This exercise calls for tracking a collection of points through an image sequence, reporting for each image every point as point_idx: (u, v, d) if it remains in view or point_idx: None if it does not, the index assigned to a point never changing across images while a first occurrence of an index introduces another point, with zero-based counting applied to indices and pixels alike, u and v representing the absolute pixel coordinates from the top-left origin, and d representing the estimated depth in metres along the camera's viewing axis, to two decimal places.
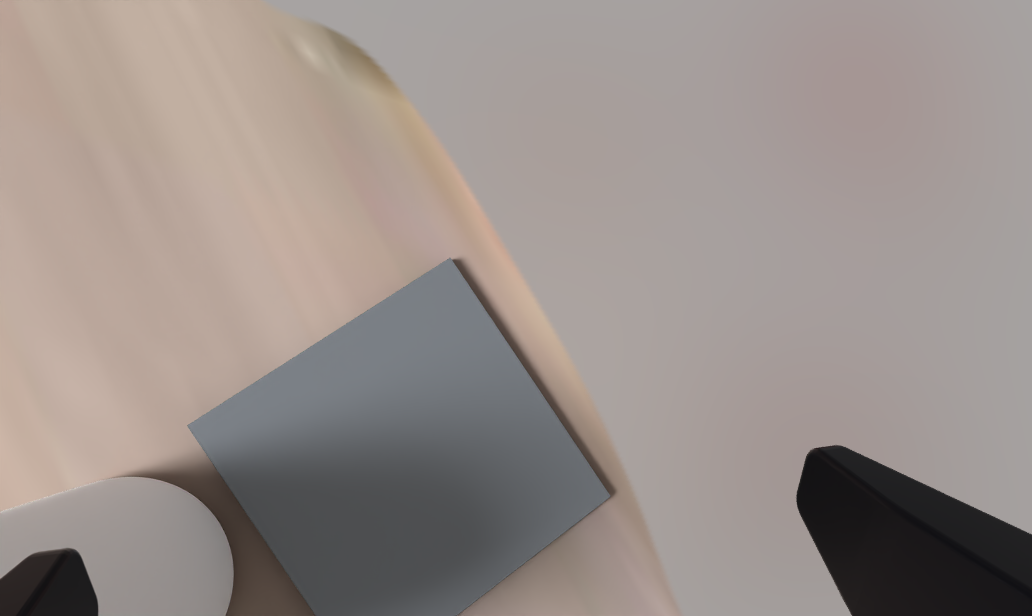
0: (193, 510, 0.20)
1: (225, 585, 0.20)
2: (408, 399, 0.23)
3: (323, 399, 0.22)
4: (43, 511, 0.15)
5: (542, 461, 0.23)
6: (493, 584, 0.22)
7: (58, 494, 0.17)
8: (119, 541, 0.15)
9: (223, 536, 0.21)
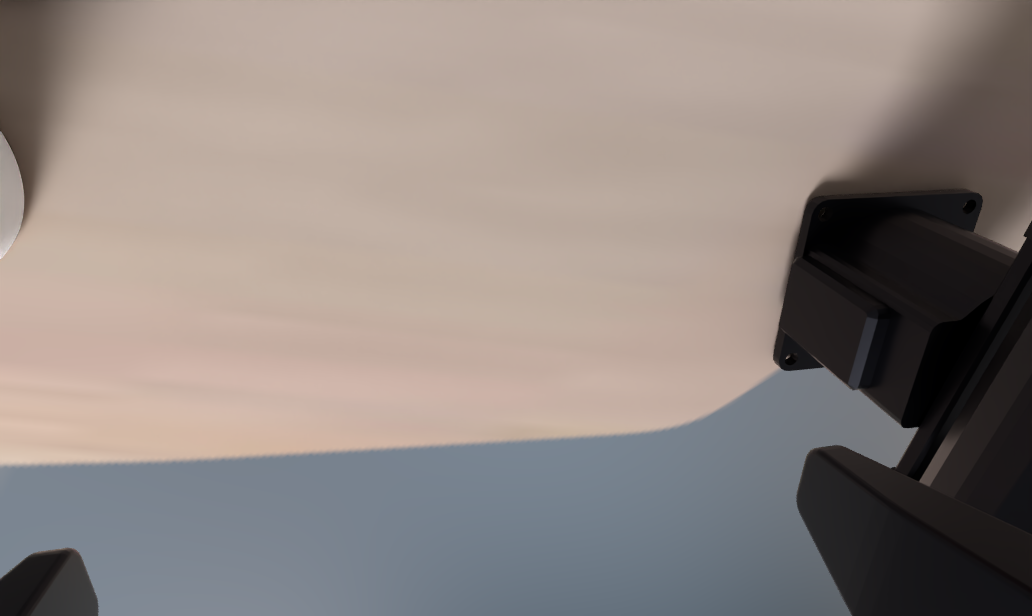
0: None
1: None
2: None
3: None
4: None
5: None
6: None
7: None
8: None
9: None
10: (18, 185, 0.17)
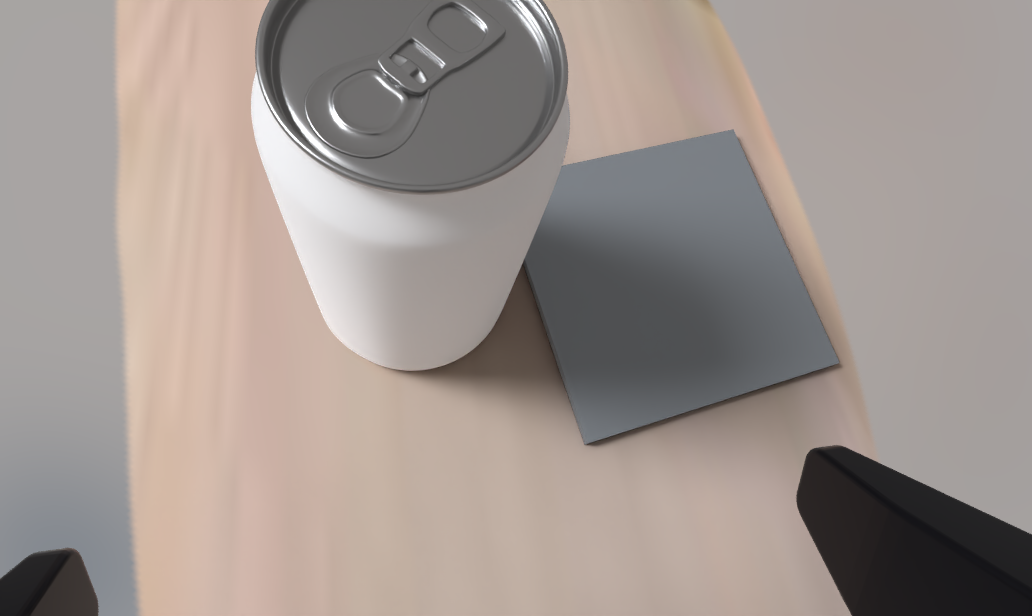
0: None
1: None
2: (677, 221, 0.25)
3: (608, 197, 0.25)
4: None
5: (782, 311, 0.25)
6: (720, 399, 0.23)
7: None
8: None
9: None
10: (427, 367, 0.22)
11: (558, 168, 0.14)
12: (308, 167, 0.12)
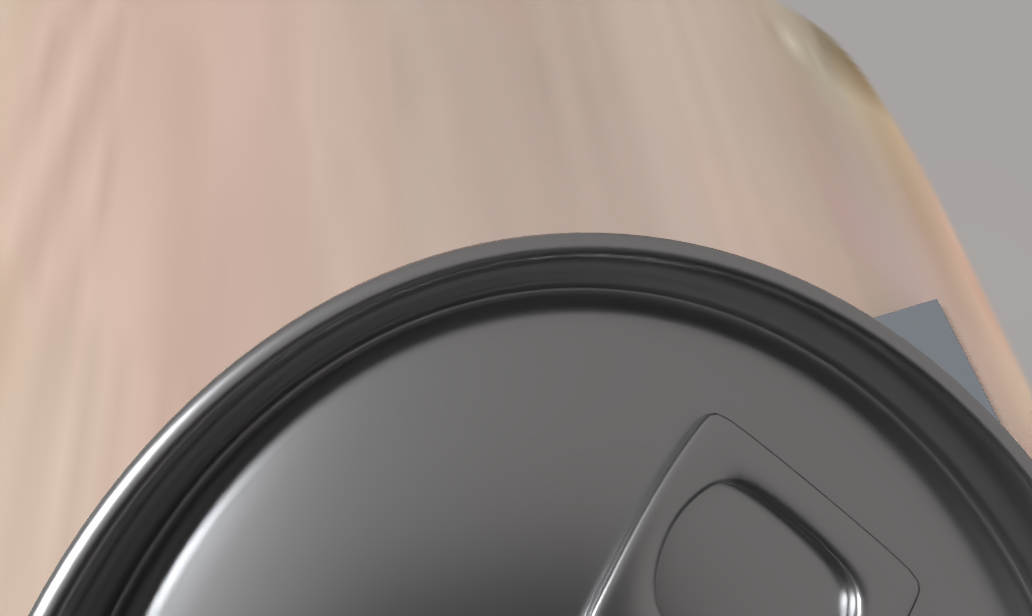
0: None
1: None
2: None
3: None
4: None
5: None
6: None
7: None
8: None
9: None
10: None
11: None
12: None
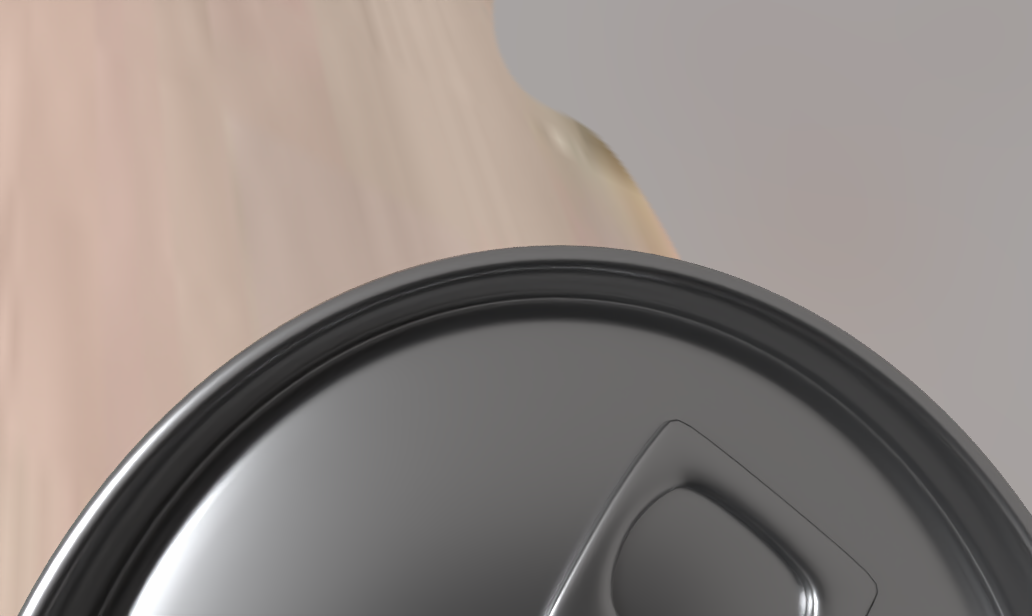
0: None
1: None
2: None
3: None
4: None
5: None
6: None
7: None
8: None
9: None
10: None
11: None
12: None
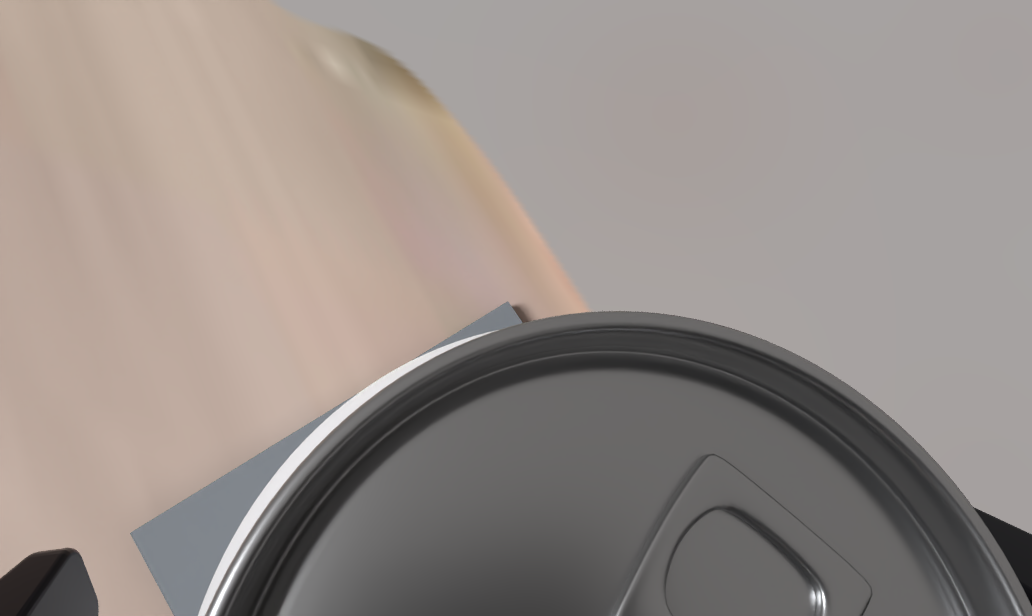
0: None
1: None
2: None
3: None
4: None
5: None
6: None
7: None
8: None
9: None
10: None
11: None
12: None
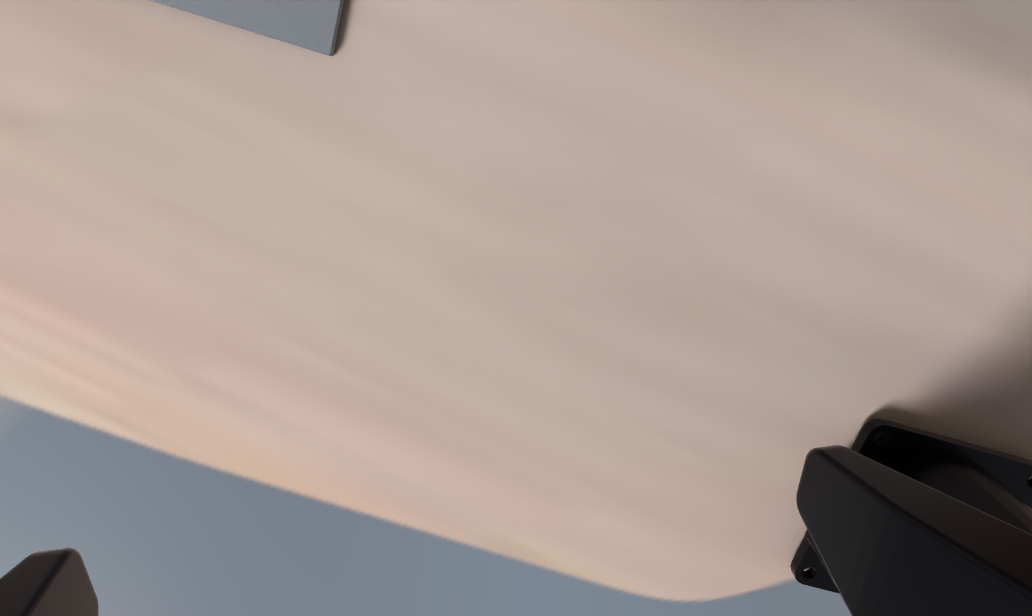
0: None
1: None
2: None
3: None
4: None
5: None
6: None
7: None
8: None
9: None
10: None
11: None
12: None
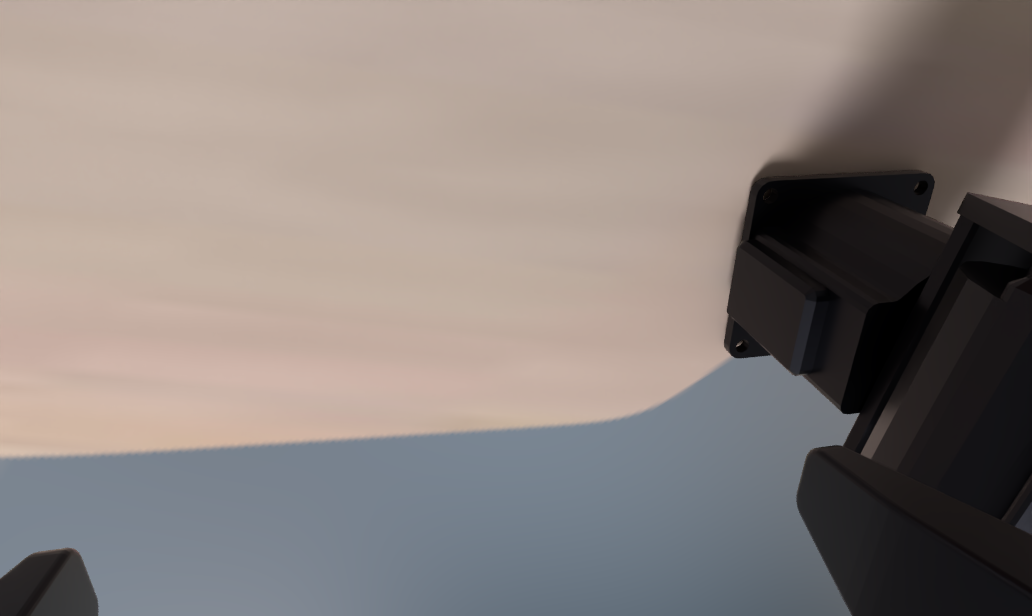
0: None
1: None
2: None
3: None
4: None
5: None
6: None
7: None
8: None
9: None
10: None
11: None
12: None
